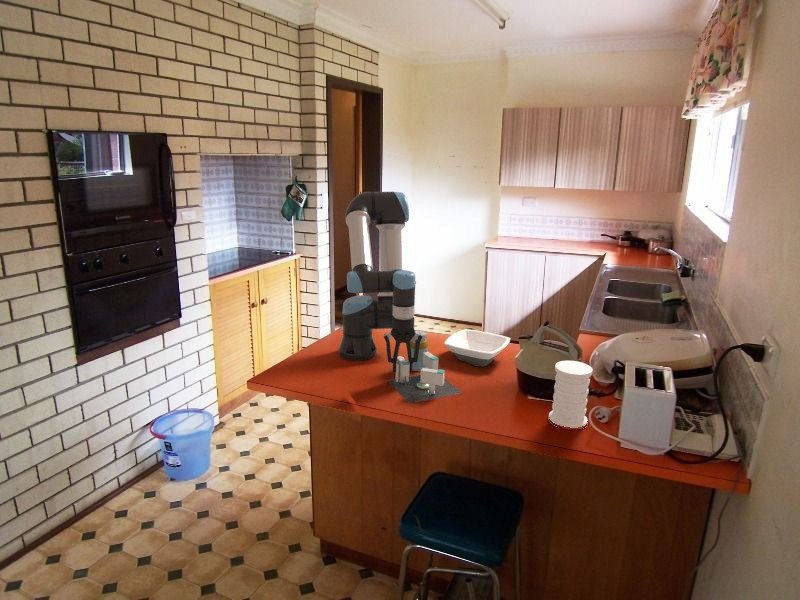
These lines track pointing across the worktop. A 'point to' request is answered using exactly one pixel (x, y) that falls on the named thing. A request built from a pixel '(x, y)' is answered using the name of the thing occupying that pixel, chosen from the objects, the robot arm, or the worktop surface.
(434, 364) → the knob far
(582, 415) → the decorative container
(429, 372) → the knob front
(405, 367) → the knob near
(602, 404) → the worktop surface
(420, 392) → the plate
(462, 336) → the bowl
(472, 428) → the worktop surface
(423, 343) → the bottle
